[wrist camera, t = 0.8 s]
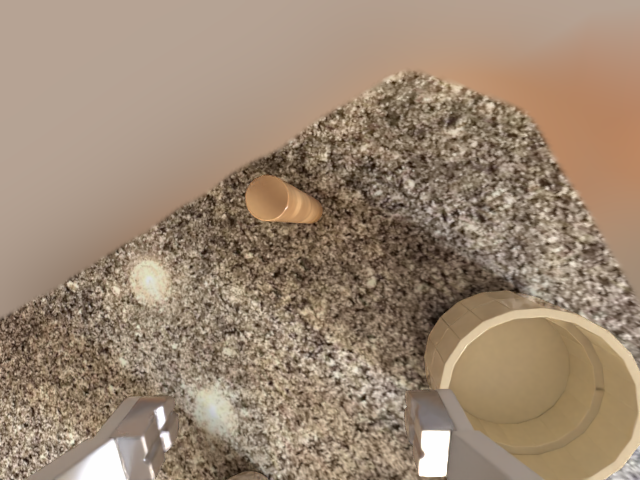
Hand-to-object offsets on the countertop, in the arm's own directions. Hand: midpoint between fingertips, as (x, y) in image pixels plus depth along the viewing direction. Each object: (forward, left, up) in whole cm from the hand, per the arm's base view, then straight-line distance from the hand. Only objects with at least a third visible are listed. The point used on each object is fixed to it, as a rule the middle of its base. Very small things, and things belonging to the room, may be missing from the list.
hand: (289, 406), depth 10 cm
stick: (-5, -7, -21) cm, 23 cm away
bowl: (-1, +17, -21) cm, 27 cm away
